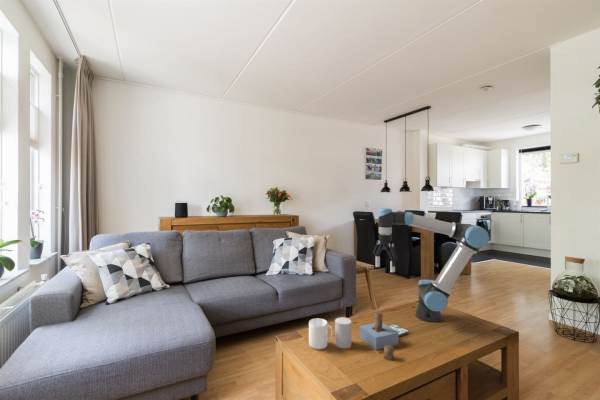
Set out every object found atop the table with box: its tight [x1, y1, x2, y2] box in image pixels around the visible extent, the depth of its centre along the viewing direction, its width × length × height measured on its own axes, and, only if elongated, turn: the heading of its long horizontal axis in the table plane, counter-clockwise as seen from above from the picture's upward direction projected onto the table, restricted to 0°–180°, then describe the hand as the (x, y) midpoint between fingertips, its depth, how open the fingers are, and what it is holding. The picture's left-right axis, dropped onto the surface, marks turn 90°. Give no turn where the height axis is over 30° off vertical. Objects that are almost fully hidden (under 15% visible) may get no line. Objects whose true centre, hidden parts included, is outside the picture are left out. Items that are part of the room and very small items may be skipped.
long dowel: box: [374, 311, 384, 332], centre depth 149 cm, size 4×4×14 cm
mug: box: [308, 317, 334, 351], centre depth 145 cm, size 10×12×12 cm
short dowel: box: [383, 345, 394, 361], centre depth 133 cm, size 4×4×5 cm
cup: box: [334, 316, 352, 349], centre depth 146 cm, size 8×8×12 cm
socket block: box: [359, 322, 400, 351], centre depth 149 cm, size 14×14×6 cm
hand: (384, 269), depth 172 cm, fingers open, 13 cm apart
